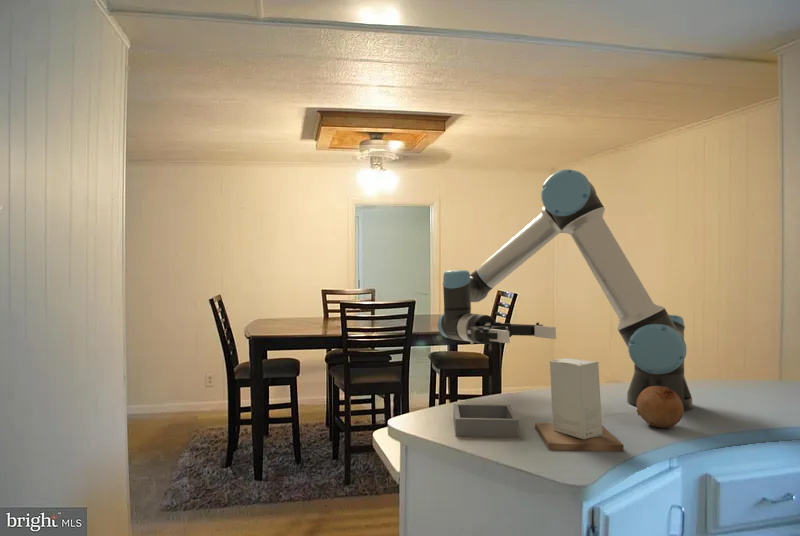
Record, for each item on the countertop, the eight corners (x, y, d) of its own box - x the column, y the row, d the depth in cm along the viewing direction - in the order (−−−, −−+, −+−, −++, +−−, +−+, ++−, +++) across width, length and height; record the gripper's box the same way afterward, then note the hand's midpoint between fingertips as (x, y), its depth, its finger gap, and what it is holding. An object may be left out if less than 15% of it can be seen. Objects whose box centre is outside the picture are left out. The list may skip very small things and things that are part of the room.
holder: (510, 419, 122) (510, 404, 122) (518, 437, 109) (518, 420, 109) (453, 418, 123) (453, 403, 123) (455, 435, 110) (455, 419, 110)
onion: (674, 444, 114) (689, 408, 110) (629, 427, 118) (641, 391, 113) (676, 418, 122) (690, 383, 117) (633, 403, 125) (645, 369, 121)
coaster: (600, 429, 114) (600, 424, 115) (623, 451, 101) (623, 444, 101) (535, 428, 115) (535, 422, 115) (548, 449, 101) (548, 443, 101)
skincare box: (602, 436, 106) (602, 361, 106) (582, 441, 103) (582, 364, 103) (569, 426, 113) (569, 356, 113) (549, 430, 110) (549, 358, 110)
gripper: (515, 339, 145) (573, 347, 126) (437, 346, 134) (487, 356, 115) (515, 312, 145) (572, 315, 127) (436, 316, 134) (486, 321, 115)
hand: (532, 335), depth 121 cm, fingers open, 13 cm apart
